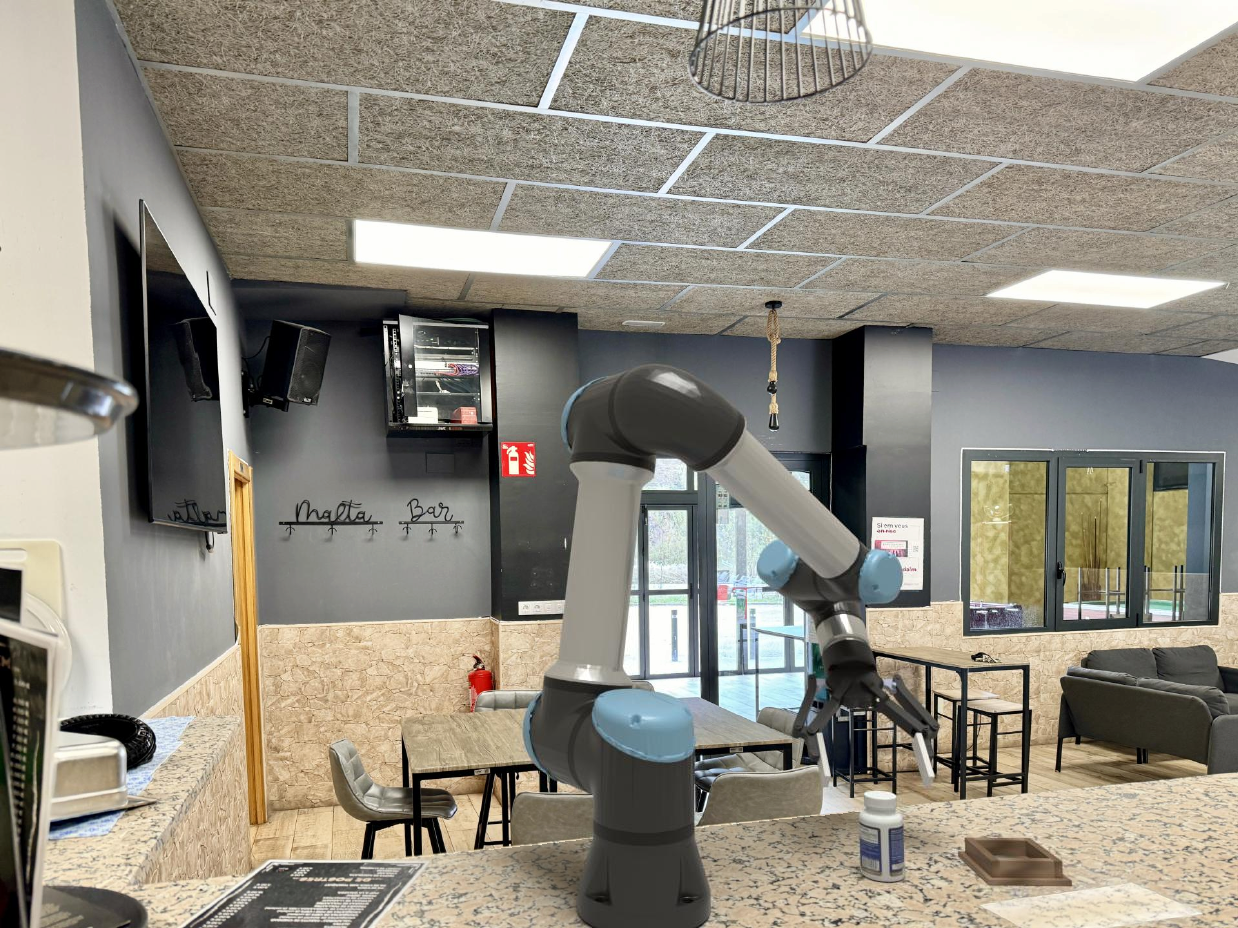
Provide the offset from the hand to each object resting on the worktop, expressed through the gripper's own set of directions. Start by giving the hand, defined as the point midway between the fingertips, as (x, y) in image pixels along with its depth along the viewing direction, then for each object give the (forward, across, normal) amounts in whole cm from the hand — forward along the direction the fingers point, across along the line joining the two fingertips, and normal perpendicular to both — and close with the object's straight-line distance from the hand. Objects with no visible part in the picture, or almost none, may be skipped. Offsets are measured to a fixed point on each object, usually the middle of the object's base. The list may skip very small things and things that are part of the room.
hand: (878, 782), depth 113 cm
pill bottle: (+11, +1, -4) cm, 11 cm away
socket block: (+9, -16, -5) cm, 19 cm away
